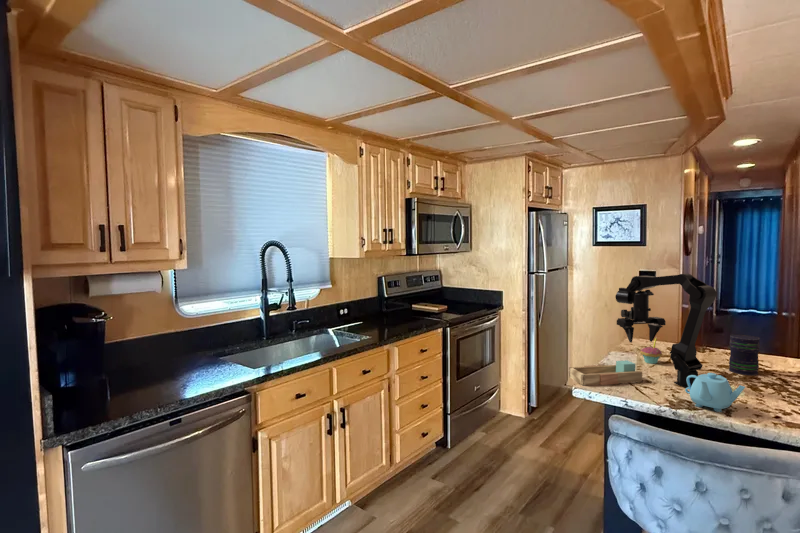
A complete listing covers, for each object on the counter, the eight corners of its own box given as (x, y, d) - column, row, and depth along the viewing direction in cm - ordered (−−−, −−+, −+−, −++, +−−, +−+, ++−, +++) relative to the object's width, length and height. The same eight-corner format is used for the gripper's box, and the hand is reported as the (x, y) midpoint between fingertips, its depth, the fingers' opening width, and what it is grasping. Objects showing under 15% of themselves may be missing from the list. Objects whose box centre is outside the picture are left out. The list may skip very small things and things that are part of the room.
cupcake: (656, 360, 202) (656, 334, 201) (665, 365, 193) (666, 338, 193) (636, 359, 203) (637, 334, 202) (645, 365, 194) (645, 338, 194)
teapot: (748, 416, 138) (750, 381, 138) (701, 414, 140) (702, 380, 140) (721, 399, 153) (722, 367, 153) (678, 397, 156) (679, 366, 155)
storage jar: (764, 376, 177) (765, 340, 176) (736, 374, 179) (738, 339, 178) (749, 368, 187) (751, 334, 186) (723, 367, 189) (725, 333, 188)
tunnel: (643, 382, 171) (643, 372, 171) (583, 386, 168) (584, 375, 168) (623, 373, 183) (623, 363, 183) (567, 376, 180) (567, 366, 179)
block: (635, 376, 175) (635, 363, 174) (623, 376, 174) (624, 364, 174) (626, 372, 179) (627, 360, 179) (615, 372, 179) (616, 360, 178)
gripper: (648, 302, 193) (648, 337, 194) (608, 303, 191) (609, 339, 192) (666, 305, 182) (666, 342, 183) (624, 307, 180) (624, 344, 181)
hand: (640, 341), depth 185 cm, fingers open, 9 cm apart
